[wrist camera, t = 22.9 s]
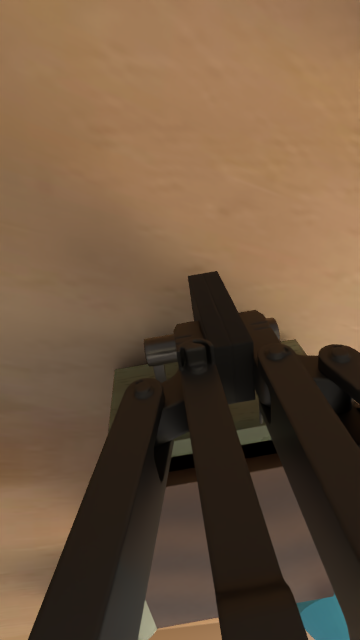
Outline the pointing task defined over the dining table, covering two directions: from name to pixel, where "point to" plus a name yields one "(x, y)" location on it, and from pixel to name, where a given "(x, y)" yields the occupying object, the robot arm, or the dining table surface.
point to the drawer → (243, 413)
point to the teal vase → (324, 619)
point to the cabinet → (193, 557)
